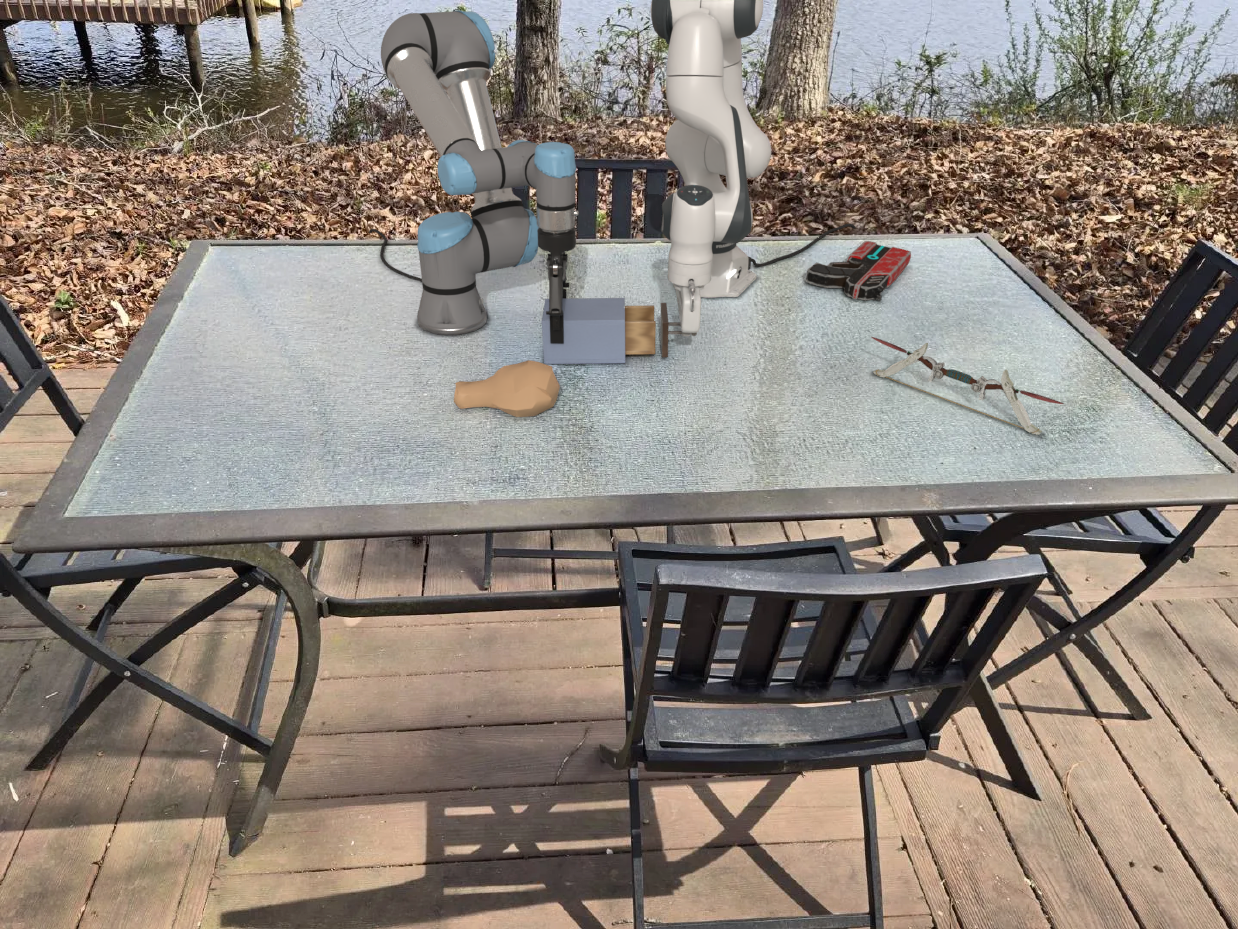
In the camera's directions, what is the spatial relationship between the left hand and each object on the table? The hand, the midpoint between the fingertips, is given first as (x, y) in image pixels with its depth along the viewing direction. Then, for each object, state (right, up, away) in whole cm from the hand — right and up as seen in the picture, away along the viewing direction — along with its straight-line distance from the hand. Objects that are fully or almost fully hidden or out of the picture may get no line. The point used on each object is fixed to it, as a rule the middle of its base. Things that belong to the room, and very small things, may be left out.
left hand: (558, 330), depth 183 cm
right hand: (+27, -1, +1) cm, 27 cm away
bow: (+78, -16, -11) cm, 80 cm away
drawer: (+18, -3, +2) cm, 18 cm away
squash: (-9, -18, -17) cm, 26 cm away
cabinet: (+5, -4, +3) cm, 7 cm away
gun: (+75, +20, +43) cm, 88 cm away
